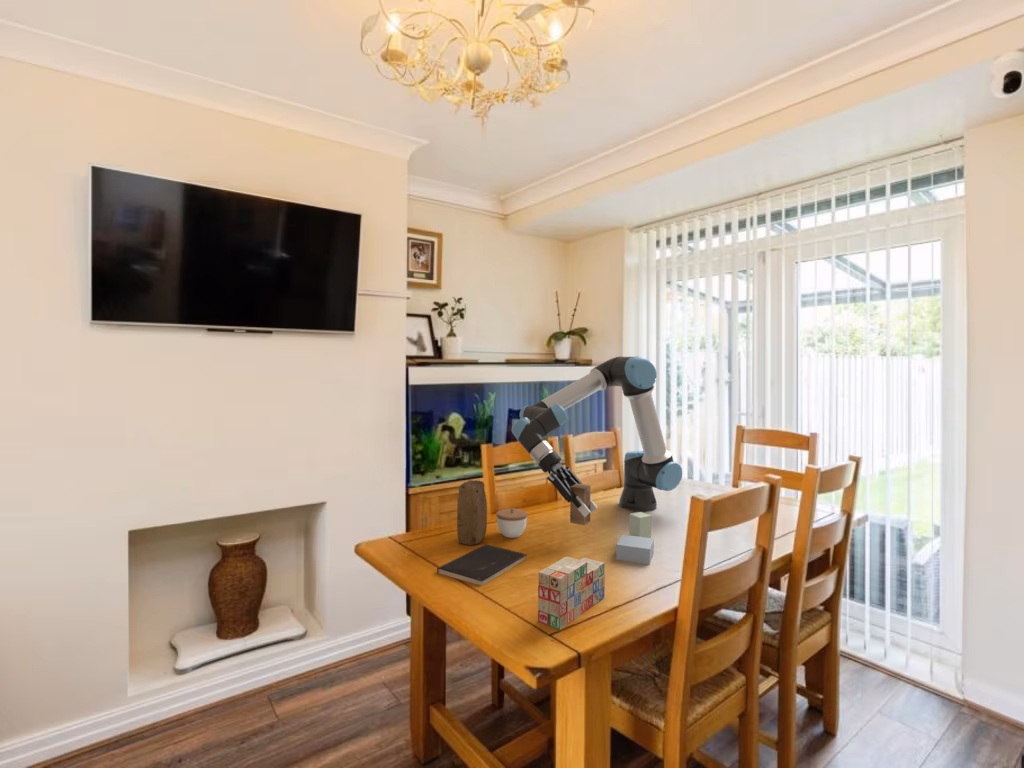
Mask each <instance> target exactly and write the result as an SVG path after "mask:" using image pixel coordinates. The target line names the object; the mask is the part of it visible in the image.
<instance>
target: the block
mask: <svg viewBox="0 0 1024 768" xmlns="http://www.w3.org/2000/svg"><path fill="white" fill-rule="evenodd" d="M456 514H457V515H456V516H457V517H456V531H457V533H456V535H457V541H458V543H460V544H463V545H466V546H473V545H479V544H480V543H482V542H483V540H484V538H485V537H486V536H485V535H486V532H487V527H488V525H487V524H488V522H487V521H488V502H487V495H486V491H485V484H484V481H481V480H473V479H471V480H470V479H469V480H467V481H464V482H462V483H461V484H460V485H459V486H458V496H457V510H456Z"/></svg>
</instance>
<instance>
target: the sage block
mask: <svg viewBox="0 0 1024 768" xmlns="http://www.w3.org/2000/svg"><path fill="white" fill-rule="evenodd" d="M628 528H629V530H628V531H629V532H628V533H629V534H628V535H630V536H637V537H645V538H652V534H651V533H652V515H651V514H648V513H644V512H643V511H637V512H633V513H629V527H628Z"/></svg>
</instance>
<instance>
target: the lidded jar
mask: <svg viewBox="0 0 1024 768" xmlns="http://www.w3.org/2000/svg"><path fill="white" fill-rule="evenodd" d="M495 514H496V524H497V528H498V531H499V532H500V533H501V534H502V536H503V537H504V538H509V539H510V538H511V539H513V538H514V539H515V538H519V537H520V536H521V535H522V534H523V533H524V531H525V530H526V527H527V522H528V512H527V511H525V510H523V509H519V508H514V507H510V508H503V509H500V510H498V511H497V512H496V513H495Z"/></svg>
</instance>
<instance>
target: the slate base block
mask: <svg viewBox="0 0 1024 768" xmlns="http://www.w3.org/2000/svg"><path fill="white" fill-rule="evenodd" d="M654 548H655V538H654V537H653V538H652V537H651V538H645V537H637V536H630V535H629V534H622V535H621V536H620V538H619V540H618V541H617V543H616V550H615V551H616V553H615V555H616V556H615V557H616V558H615V560H617V561H622V562H623V561H624V562H629V563H635V564H645V565H650V564H651V561H652V559H653V556H654V552H655V551H654Z"/></svg>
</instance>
